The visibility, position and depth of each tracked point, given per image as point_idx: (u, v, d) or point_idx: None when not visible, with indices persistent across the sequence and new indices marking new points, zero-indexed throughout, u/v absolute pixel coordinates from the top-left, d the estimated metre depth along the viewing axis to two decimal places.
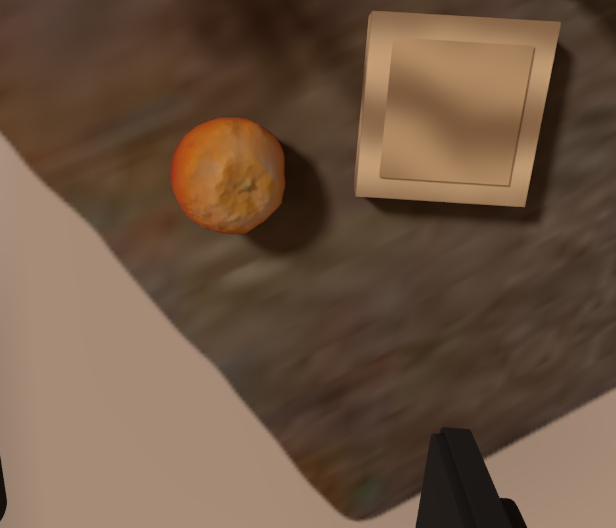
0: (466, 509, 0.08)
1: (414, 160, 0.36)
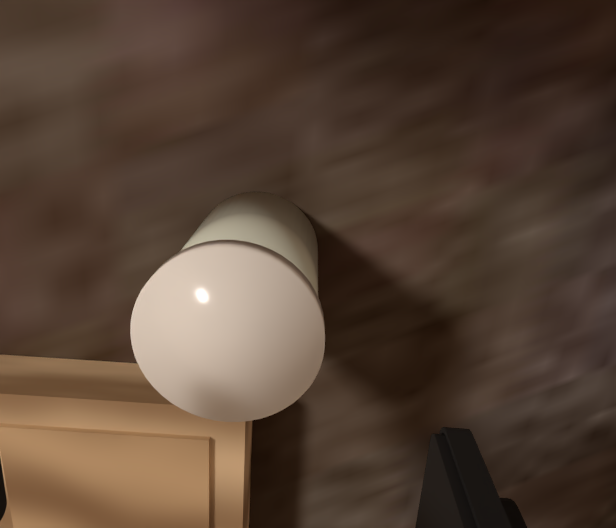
0: (466, 509, 0.08)
1: None
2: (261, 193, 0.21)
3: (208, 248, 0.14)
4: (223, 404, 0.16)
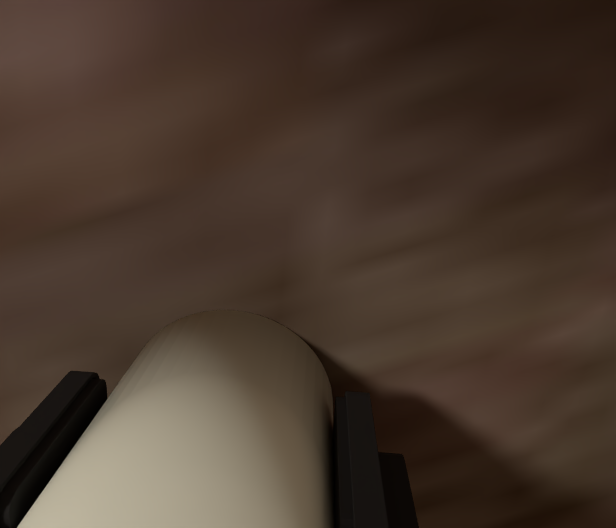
0: (345, 456, 0.09)
1: None
2: (234, 315, 0.12)
3: None
4: None
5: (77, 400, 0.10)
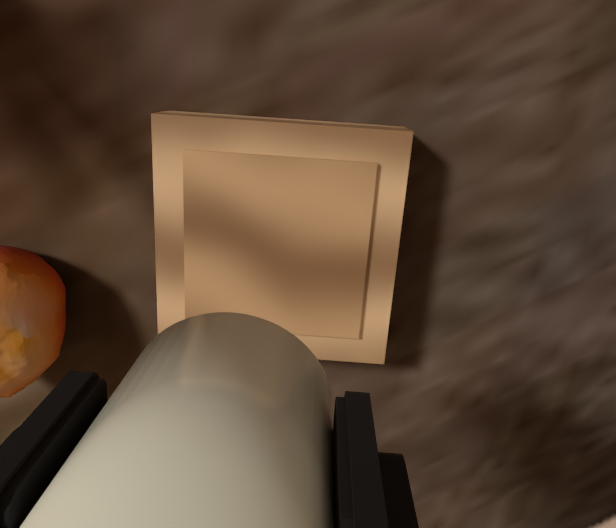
0: (345, 456, 0.09)
1: (229, 306, 0.27)
2: (234, 318, 0.12)
3: None
4: None
5: (77, 400, 0.10)
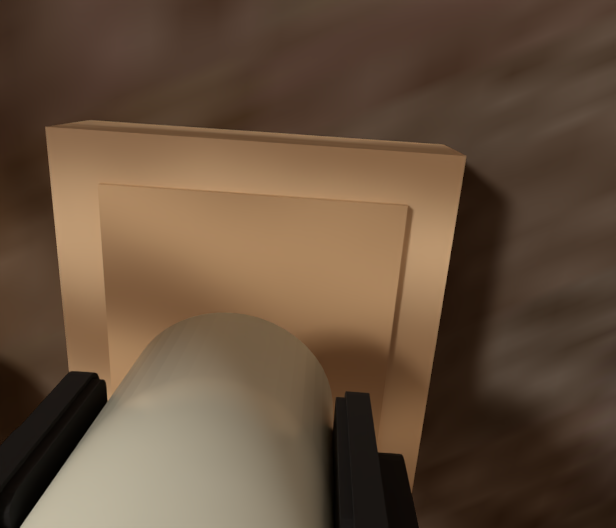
0: (345, 456, 0.09)
1: None
2: (234, 318, 0.12)
3: None
4: None
5: (77, 400, 0.10)
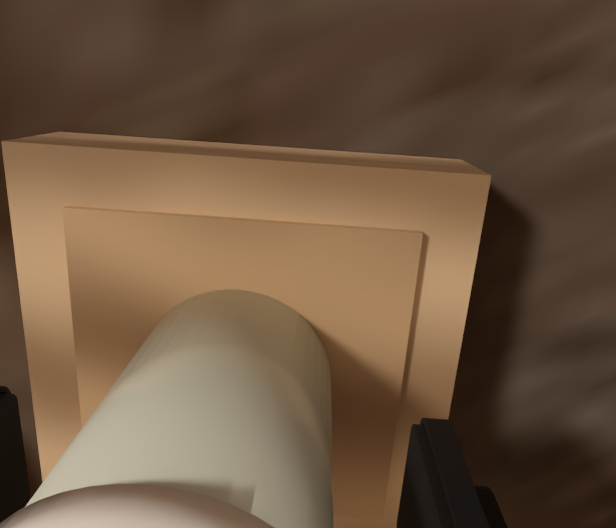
0: (440, 495, 0.09)
1: None
2: (240, 294, 0.13)
3: None
4: None
5: None
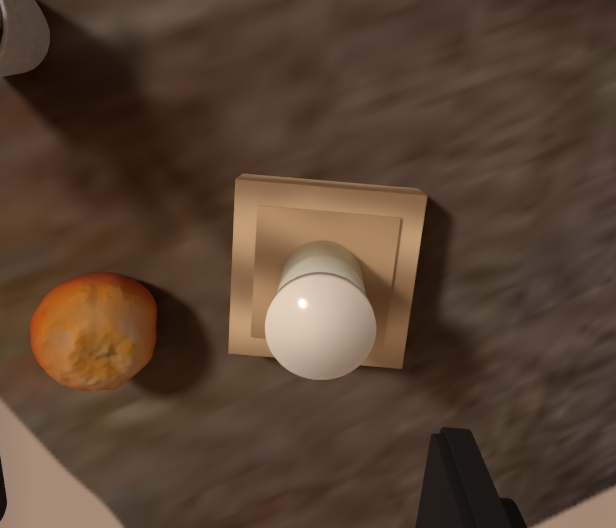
0: (466, 509, 0.08)
1: None
2: (326, 241, 0.33)
3: (313, 276, 0.25)
4: (314, 368, 0.27)
5: None
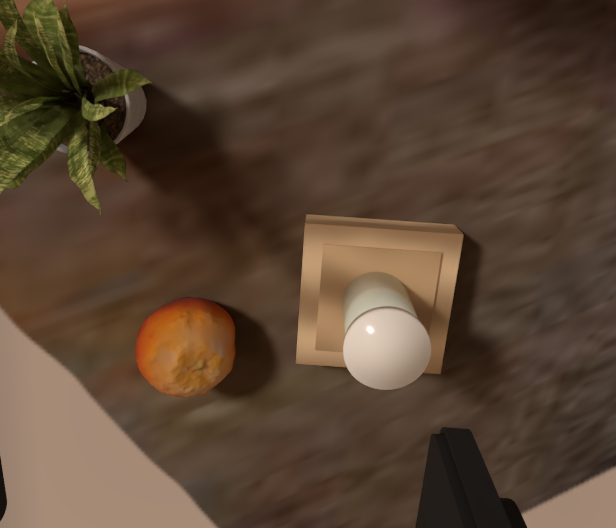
0: (466, 509, 0.08)
1: None
2: (380, 273, 0.40)
3: (382, 311, 0.33)
4: (381, 381, 0.34)
5: None
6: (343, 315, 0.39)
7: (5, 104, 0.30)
